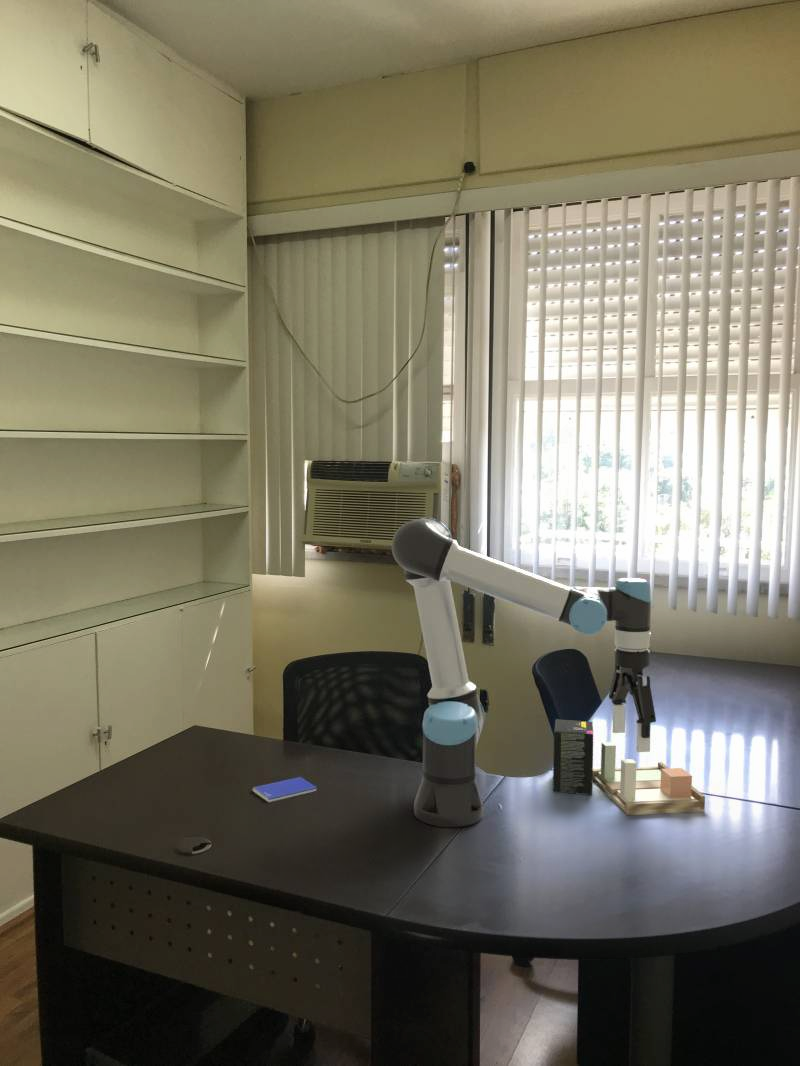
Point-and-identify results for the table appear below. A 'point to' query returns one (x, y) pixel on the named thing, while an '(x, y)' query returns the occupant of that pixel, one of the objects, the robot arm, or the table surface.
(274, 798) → the hard drive
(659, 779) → the pale green l-shaped bracket
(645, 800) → the strip cream
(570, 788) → the tampon box
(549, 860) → the table surface
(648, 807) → the lane board
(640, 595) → the robot arm
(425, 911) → the table surface
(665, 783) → the cube
